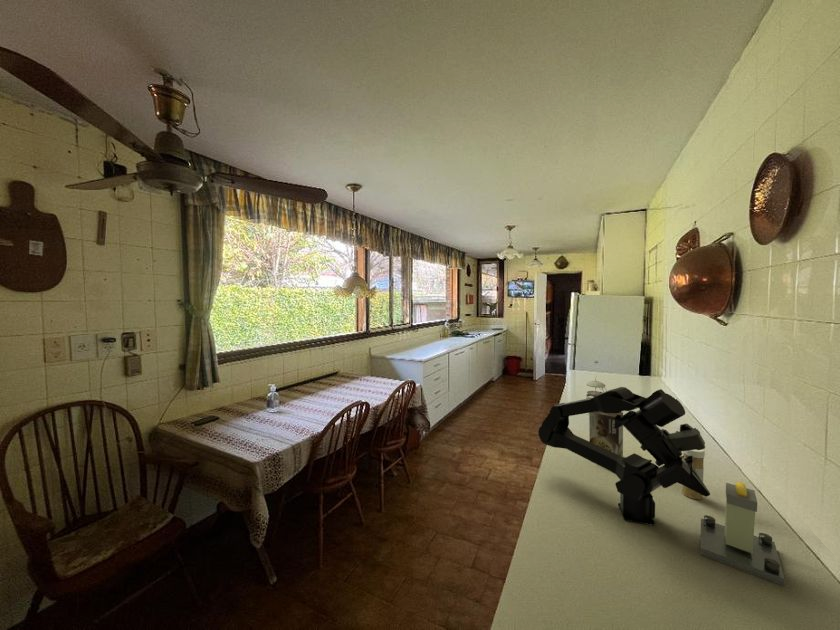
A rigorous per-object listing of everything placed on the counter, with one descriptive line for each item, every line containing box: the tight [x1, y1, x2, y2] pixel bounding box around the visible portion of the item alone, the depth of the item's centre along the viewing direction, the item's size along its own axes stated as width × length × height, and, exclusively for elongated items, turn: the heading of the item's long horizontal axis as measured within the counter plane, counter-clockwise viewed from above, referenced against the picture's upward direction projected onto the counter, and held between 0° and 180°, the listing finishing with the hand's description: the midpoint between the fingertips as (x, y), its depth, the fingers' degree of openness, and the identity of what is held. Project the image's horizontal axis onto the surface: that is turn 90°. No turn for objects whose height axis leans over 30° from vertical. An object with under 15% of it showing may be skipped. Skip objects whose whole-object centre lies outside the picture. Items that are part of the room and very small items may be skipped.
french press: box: [585, 360, 608, 414], centre depth 153 cm, size 10×12×25 cm
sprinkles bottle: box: [681, 449, 706, 500], centre depth 90 cm, size 5×5×14 cm
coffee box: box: [588, 411, 624, 457], centre depth 111 cm, size 9×6×16 cm
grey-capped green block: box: [724, 481, 758, 554], centre depth 70 cm, size 4×5×12 cm
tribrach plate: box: [700, 514, 785, 587], centre depth 70 cm, size 12×12×3 cm
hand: (708, 495), depth 73 cm, fingers closed
